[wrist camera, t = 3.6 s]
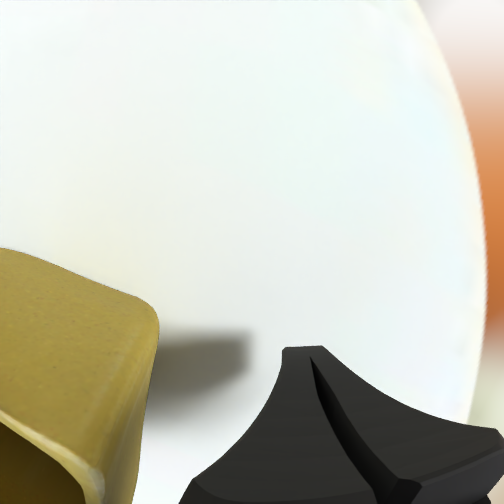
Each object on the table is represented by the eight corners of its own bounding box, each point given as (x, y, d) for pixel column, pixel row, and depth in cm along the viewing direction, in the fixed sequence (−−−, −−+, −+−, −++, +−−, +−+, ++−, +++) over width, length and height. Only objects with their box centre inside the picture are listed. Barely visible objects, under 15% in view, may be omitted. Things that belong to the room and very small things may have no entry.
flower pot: (26, 364, 13) (-66, 457, 4) (27, 212, 11) (-138, 258, 2) (166, 426, 13) (119, 576, 4) (204, 272, 11) (101, 471, 3)
